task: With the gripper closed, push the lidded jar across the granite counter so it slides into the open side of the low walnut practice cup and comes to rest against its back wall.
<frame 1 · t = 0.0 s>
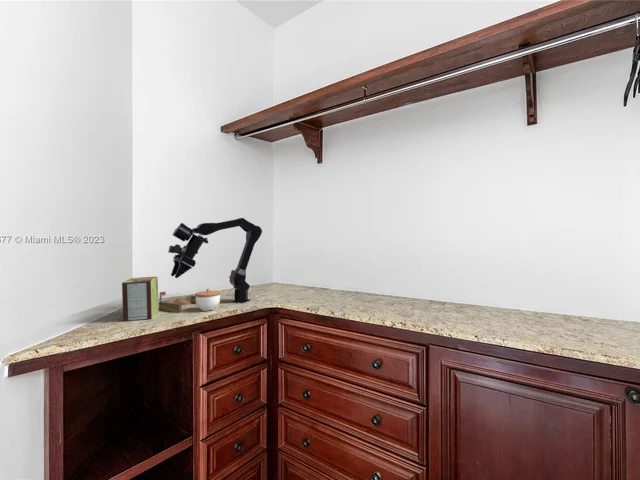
hand: (173, 276, 146), 15 cm above the worktop, tool tilted 35°, fingers open, 9 cm apart
protein box: (141, 316, 135), on the worktop
lidded jar: (208, 310, 145), on the worktop
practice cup: (186, 307, 151), on the worktop
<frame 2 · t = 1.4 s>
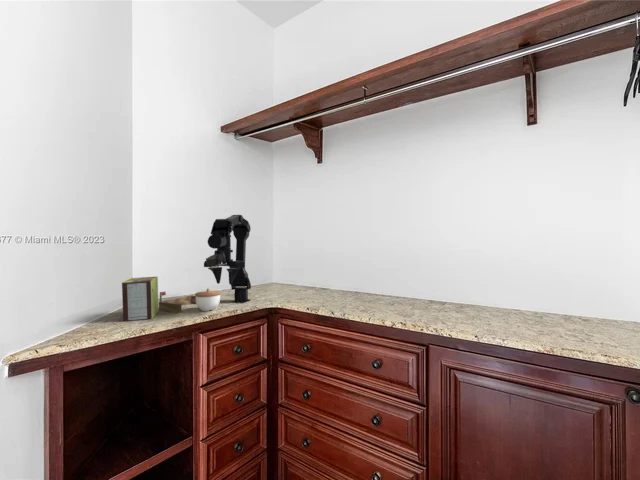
hand: (224, 283, 141), 12 cm above the worktop, tool pointing down, fingers open, 7 cm apart
nothing on the worktop moved.
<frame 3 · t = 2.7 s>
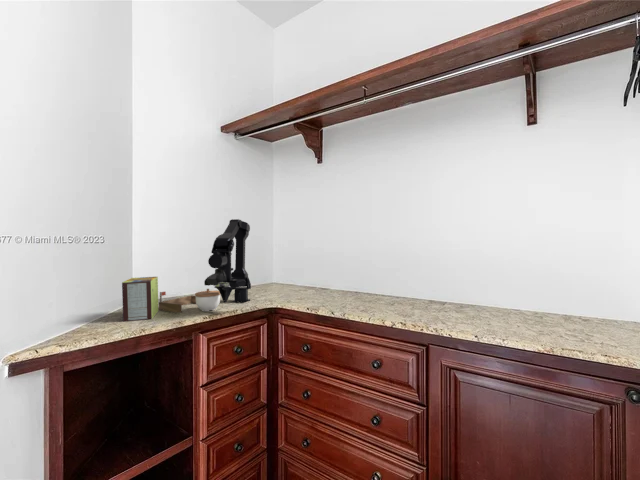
hand: (225, 302, 141), 4 cm above the worktop, tool pointing down, fingers closed
nothing on the worktop moved.
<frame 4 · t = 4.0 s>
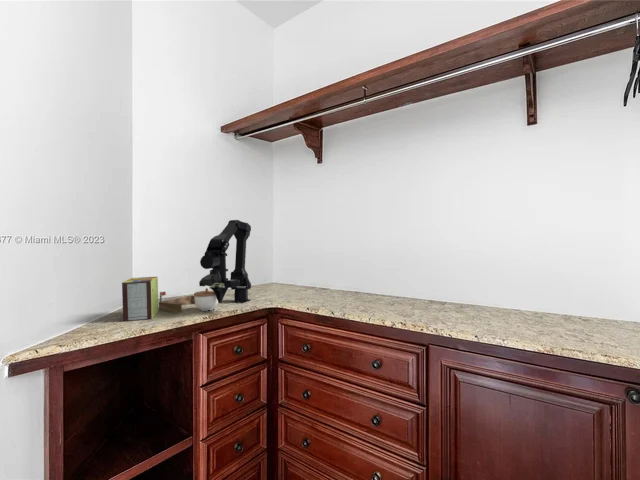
hand: (220, 302, 142), 4 cm above the worktop, tool pointing down, fingers closed
lidded jar: (207, 310, 145), on the worktop, touching gripper
everything else where it was.
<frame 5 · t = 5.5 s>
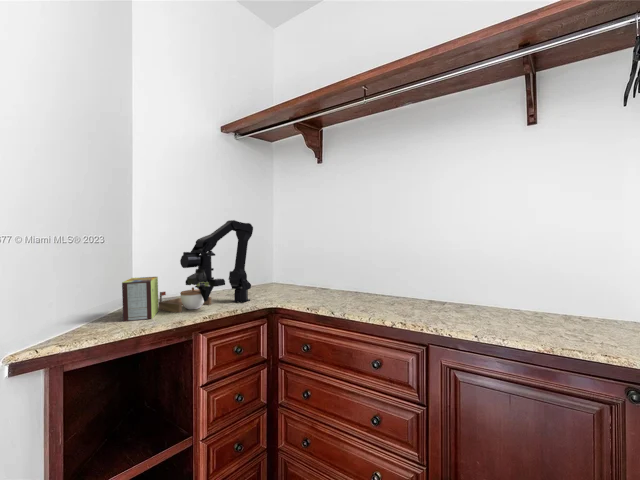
hand: (205, 301, 146), 4 cm above the worktop, tool pointing down, fingers closed
lidded jar: (193, 308, 149), on the worktop, touching gripper
everything else where it was.
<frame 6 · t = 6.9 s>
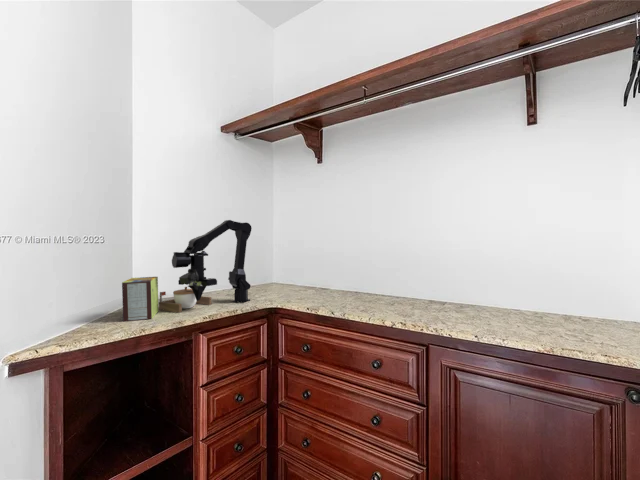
hand: (198, 300, 148), 4 cm above the worktop, tool pointing down, fingers closed
lidded jar: (186, 307, 152), on the worktop, touching gripper
everything else where it was.
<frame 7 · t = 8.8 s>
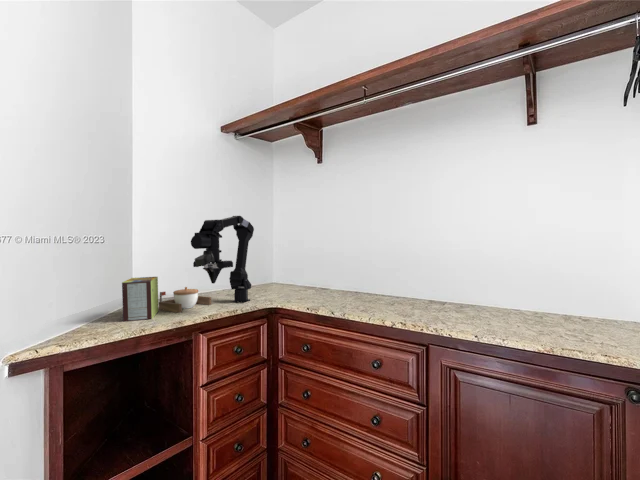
hand: (213, 283, 144), 12 cm above the worktop, tool pointing down, fingers closed
lidded jar: (186, 307, 152), on the worktop
everything else where it was.
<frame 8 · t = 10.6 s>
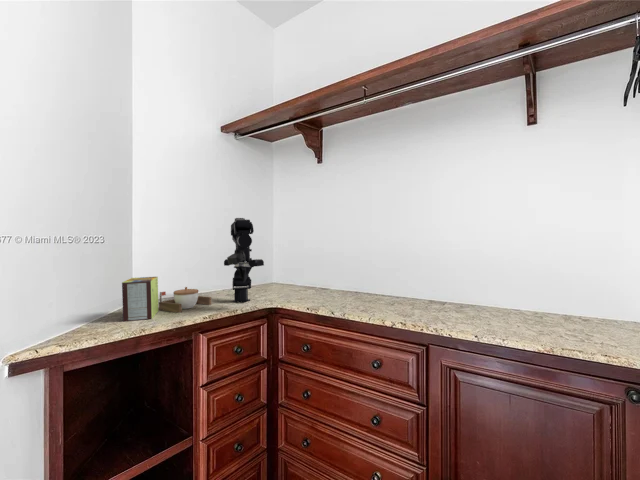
hand: (243, 281, 147), 12 cm above the worktop, tool pointing down, fingers closed
nothing on the worktop moved.
at the end: lidded jar inside the target area (0.1 cm from its centre), on the worktop; lidded jar tilted 0°; lidded jar moved 13.8 cm from its start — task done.
